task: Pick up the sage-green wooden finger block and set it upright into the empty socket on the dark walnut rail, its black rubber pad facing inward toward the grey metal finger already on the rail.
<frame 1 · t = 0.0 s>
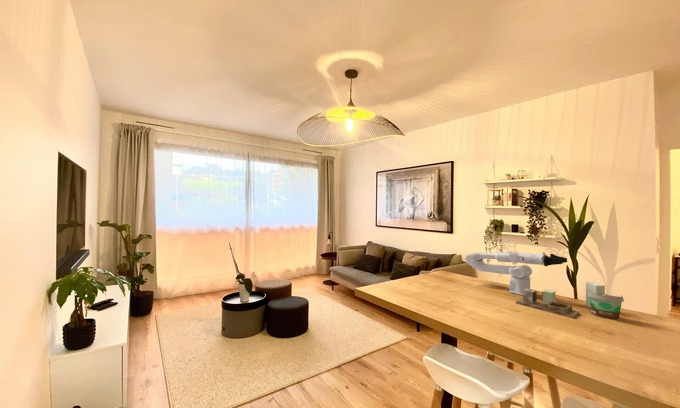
hand: (564, 260, 141), 22 cm above the table, tool horizontal, fingers open, 7 cm apart
skincare box: (595, 308, 135), on the table
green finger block: (549, 302, 142), on the table
walnut rail: (546, 308, 134), on the table
food container: (607, 317, 124), on the table
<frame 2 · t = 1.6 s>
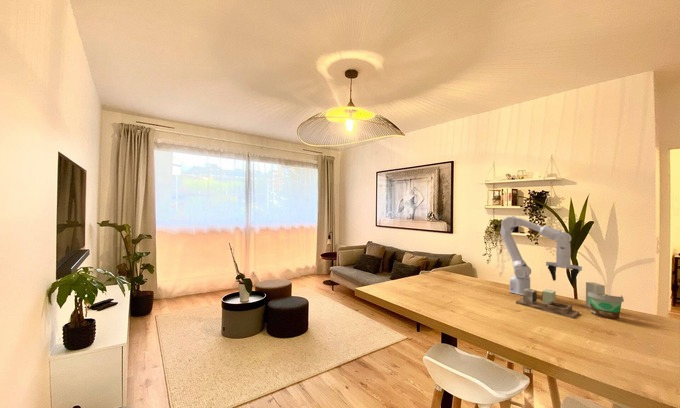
hand: (563, 282, 143), 10 cm above the table, tool pointing down, fingers open, 7 cm apart
nothing on the table moved.
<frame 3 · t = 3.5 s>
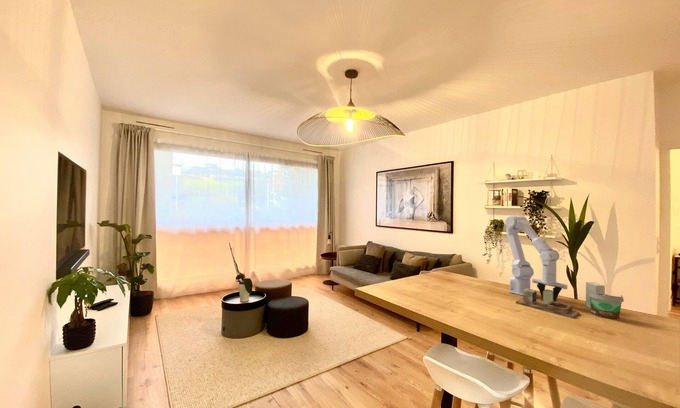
hand: (549, 299, 142), 1 cm above the table, tool pointing down, fingers closed on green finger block, 4 cm apart
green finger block: (549, 302, 142), on the table, touching gripper
everything else where it was.
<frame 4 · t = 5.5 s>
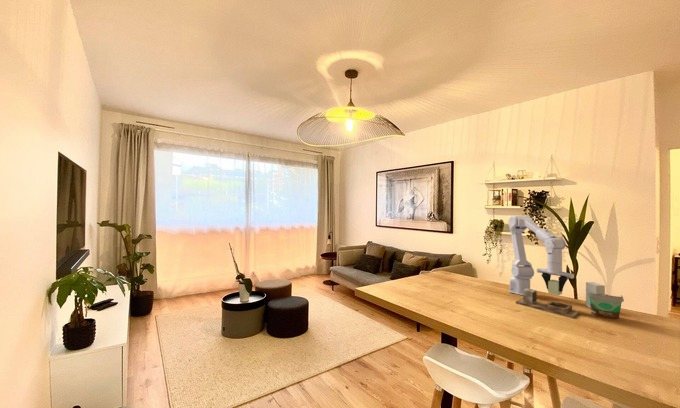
hand: (554, 290, 136), 9 cm above the table, tool pointing down, fingers closed on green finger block, 4 cm apart
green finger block: (555, 293, 135), point 7 cm above the table, touching gripper
everything else where it was.
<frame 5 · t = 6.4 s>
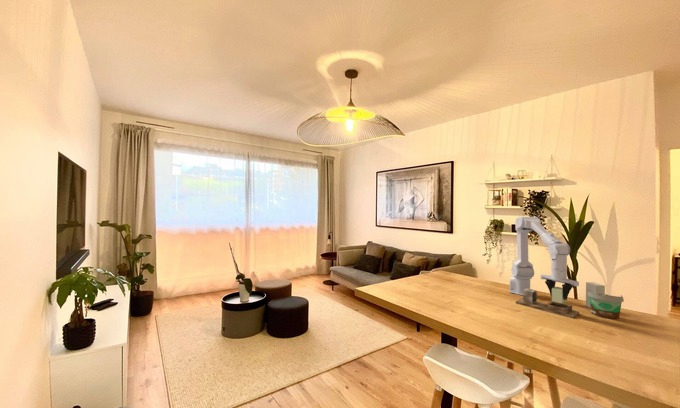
hand: (558, 297, 130), 6 cm above the table, tool pointing down, fingers closed on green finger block, 4 cm apart
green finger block: (559, 301, 130), point 5 cm above the table, touching gripper
everything else where it was.
when the fingers open (4 cm above the table, at t = 7.3 s): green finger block drops 1 cm, resting on walnut rail.
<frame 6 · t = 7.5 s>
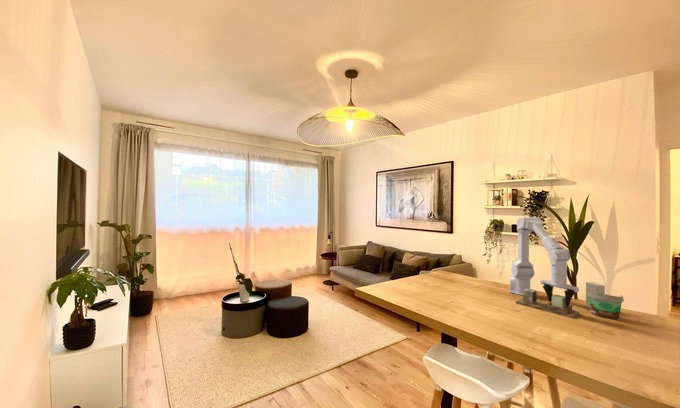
hand: (558, 303, 130), 4 cm above the table, tool pointing down, fingers open, 6 cm apart
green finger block: (559, 309, 130), point 1 cm above the table, touching walnut rail
everything else where it was.
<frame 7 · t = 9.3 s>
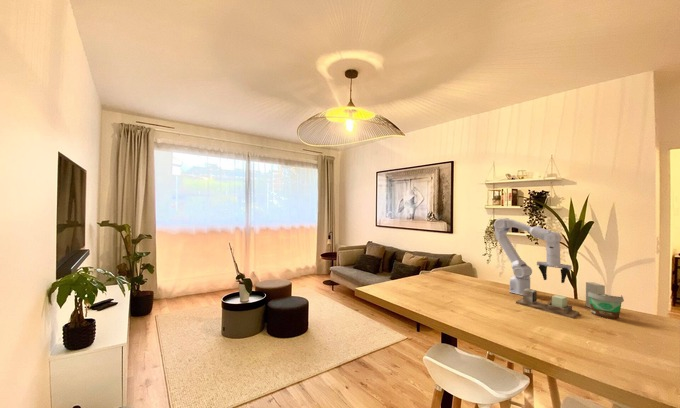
hand: (553, 281, 145), 10 cm above the table, tool pointing down, fingers open, 7 cm apart
nothing on the table moved.
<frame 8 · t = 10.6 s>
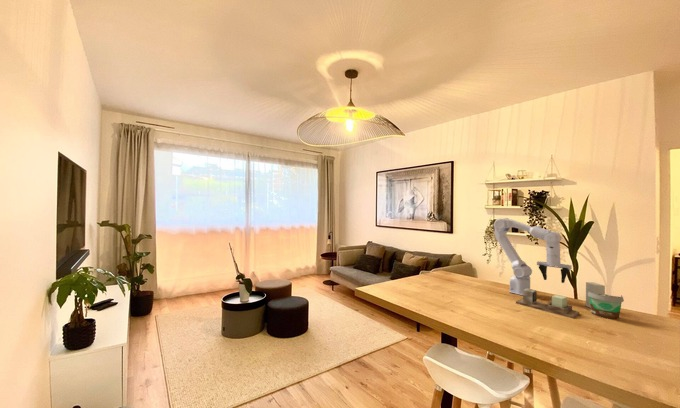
hand: (553, 281, 145), 10 cm above the table, tool pointing down, fingers open, 7 cm apart
nothing on the table moved.
at the end: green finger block 0.2 cm from the target spot on the walnut rail, point 1.0 cm above the walnut rail's base; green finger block tilted 0°; the gripper is holding nothing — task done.
